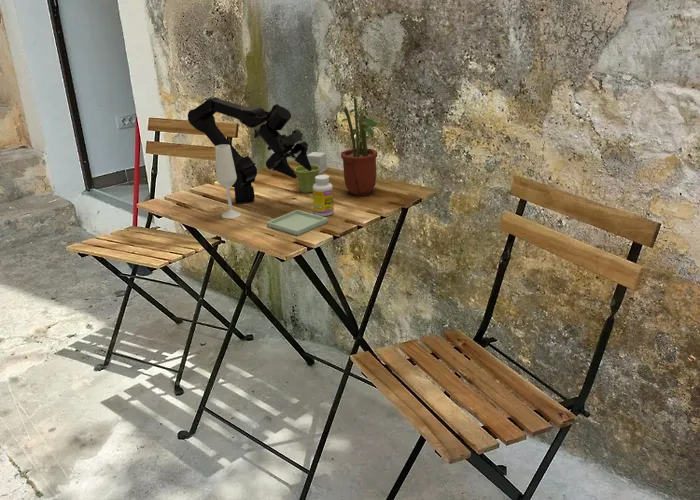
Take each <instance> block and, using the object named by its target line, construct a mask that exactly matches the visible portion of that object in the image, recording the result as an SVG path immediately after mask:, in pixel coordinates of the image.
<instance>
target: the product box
mask: <svg viewBox="0 0 700 500" xmlns="http://www.w3.org/2000/svg"><path fill="white" fill-rule="evenodd" d="M307 158H308V160H309V163H310V165H316V166H319V167H320V169H319V172H318V175H322V174H323V173H324V172H326V171H327V170H328V165H327V164H328V163H327V153H326V152H320V151H319V152H317V151H312V152H311V153H308V154H307Z"/></svg>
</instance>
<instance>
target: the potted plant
mask: <svg viewBox="0 0 700 500" xmlns="http://www.w3.org/2000/svg"><path fill="white" fill-rule="evenodd" d="M352 99H353V108H354V109H351V110H350V111H349V110H348V107H347V106H346V105H344V108H343V112H344V114H345V117H346V118H343V119H341V123H343V122H346V121H347V124H348V128H349V132H345V133H344V134H343V135H342V136H340V137H338V140H340V139H341V138H342V137H343V136H346V135H349V134H350V137H351V143H352V144H351V145H352V148H351V149H347V150H343V151H342V152H341V153H340V157H341V159H342V162H343V163H342V164H343V165H342V166H343V179H344V184H345V187H346V189H347V190H348V192H350V194H353V195H355V196H365V195H368V194H369V193H371V192H372V191H373V190H374V188H375V186H376V181H377V157H378V151H377V150H376V149H372V148H368V141H367V139H371V140H374V135H375V131H374V130H373V129H372V128H375V127H377V126H378V125H379V123H378V122H377V121H376V120H374V119H373V118H371V117H370V118H369V117H368V118H367V117H364V112H365V111H366V108H362V109H361V110H360V111H359V112H360V114H358V101H357V97H356V96H354V97H351V98H350V99H348V100H347V101H350V100H352ZM352 113H354V116H352V118H354V128H353V125H352V120H351V116H350V114H352ZM366 125H367V126H368V127H366ZM367 133H368V134H369V136H367ZM337 142H338V141H336V143H335V144H334V145H337Z"/></svg>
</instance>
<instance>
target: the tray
mask: <svg viewBox="0 0 700 500" xmlns="http://www.w3.org/2000/svg"><path fill="white" fill-rule="evenodd" d="M327 223H329V219H328V217H327V216H318V215H316V214H315V213H310V212H306V211H303V210H300V209H295V210H293V211H290V212H288V213H285V214H283V215H281V216H278V217H276V218H274V219H270V220H268V221H266V227H267V228H269V229H271V230H272V229H274V230H277V231H278V232H279V231H280V232H282V231H283V232H282V233H286V234H290V235H292V234H293V236H296V235H297V237H299V236H301V235H303V234H306V233H309V232H310V231H313V230H315V229H317V228H319V227H321V226H323V225H326V224H327ZM298 235H299V236H298Z"/></svg>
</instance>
